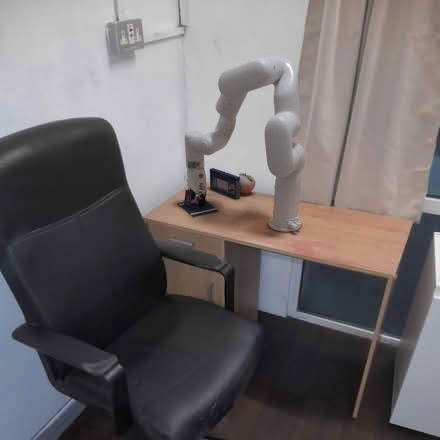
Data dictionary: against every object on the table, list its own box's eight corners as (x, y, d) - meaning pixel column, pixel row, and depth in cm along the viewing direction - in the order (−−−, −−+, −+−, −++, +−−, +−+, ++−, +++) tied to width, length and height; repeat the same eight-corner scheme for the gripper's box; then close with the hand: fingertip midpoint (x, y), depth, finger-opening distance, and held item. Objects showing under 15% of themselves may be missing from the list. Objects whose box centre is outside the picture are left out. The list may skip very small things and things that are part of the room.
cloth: (218, 211, 178) (218, 210, 178) (193, 216, 173) (193, 216, 173) (201, 199, 189) (201, 198, 189) (177, 204, 185) (177, 203, 185)
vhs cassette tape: (209, 189, 200) (209, 168, 194) (214, 187, 201) (214, 167, 196) (235, 200, 188) (235, 178, 182) (240, 198, 189) (240, 176, 184)
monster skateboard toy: (184, 189, 180) (203, 192, 176) (190, 189, 184) (208, 192, 181) (183, 205, 182) (201, 208, 178) (188, 205, 186) (206, 208, 183)
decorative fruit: (231, 194, 194) (231, 173, 188) (242, 189, 199) (242, 168, 193) (247, 199, 189) (248, 177, 183) (258, 193, 194) (259, 172, 188)
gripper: (213, 167, 166) (214, 208, 176) (194, 156, 179) (196, 195, 188) (196, 170, 163) (198, 212, 173) (178, 159, 176) (181, 198, 186)
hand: (197, 203), depth 181 cm, fingers open, 9 cm apart
